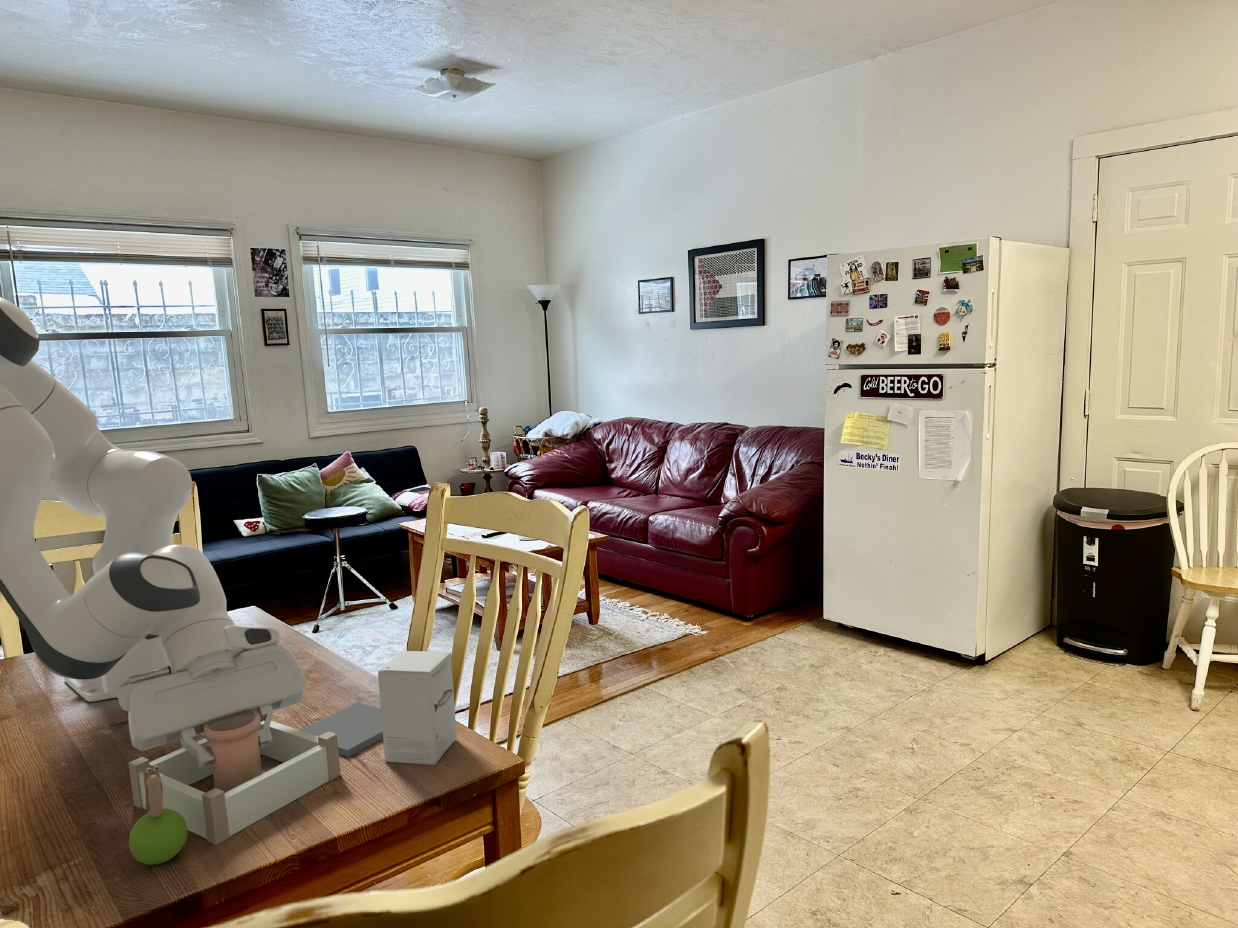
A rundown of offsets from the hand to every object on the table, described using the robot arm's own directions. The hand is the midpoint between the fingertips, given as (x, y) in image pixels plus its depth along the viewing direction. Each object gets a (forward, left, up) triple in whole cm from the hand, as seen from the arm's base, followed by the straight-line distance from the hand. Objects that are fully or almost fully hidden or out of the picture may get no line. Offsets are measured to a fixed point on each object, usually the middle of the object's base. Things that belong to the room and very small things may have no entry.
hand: (237, 754), depth 100 cm
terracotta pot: (-1, 0, -5) cm, 5 cm away
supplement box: (+12, +18, -5) cm, 23 cm away
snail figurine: (+5, -13, -5) cm, 15 cm away
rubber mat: (-1, +18, -5) cm, 18 cm away
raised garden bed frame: (-1, 0, -5) cm, 5 cm away
